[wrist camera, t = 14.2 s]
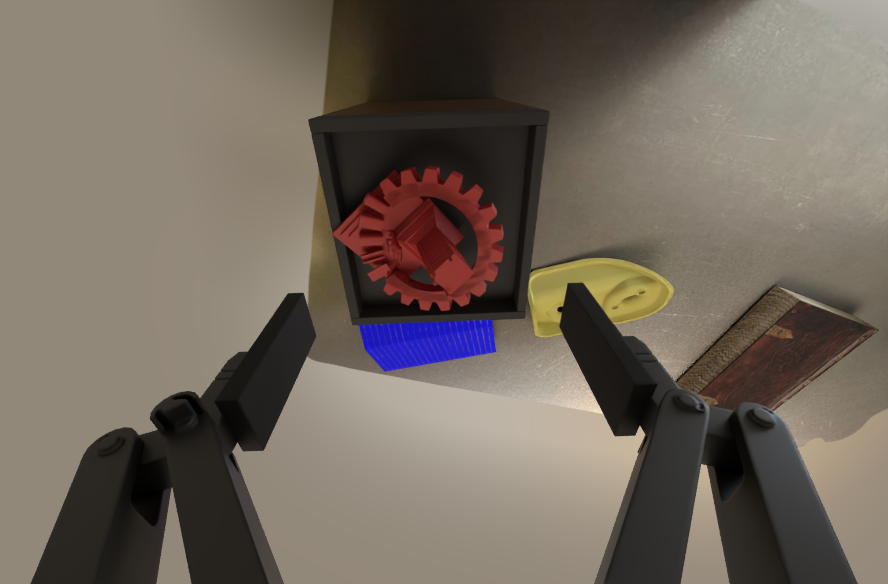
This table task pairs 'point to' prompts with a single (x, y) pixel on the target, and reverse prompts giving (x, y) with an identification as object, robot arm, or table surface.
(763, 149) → the table surface
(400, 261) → the red gear mechanism
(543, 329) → the plastic component
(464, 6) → the table surface
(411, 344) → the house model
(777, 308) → the hardback book
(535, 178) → the square tray
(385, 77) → the table surface
